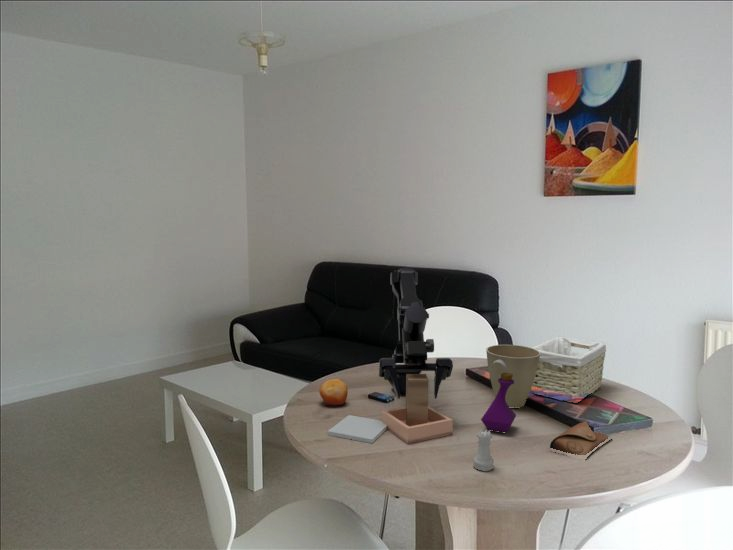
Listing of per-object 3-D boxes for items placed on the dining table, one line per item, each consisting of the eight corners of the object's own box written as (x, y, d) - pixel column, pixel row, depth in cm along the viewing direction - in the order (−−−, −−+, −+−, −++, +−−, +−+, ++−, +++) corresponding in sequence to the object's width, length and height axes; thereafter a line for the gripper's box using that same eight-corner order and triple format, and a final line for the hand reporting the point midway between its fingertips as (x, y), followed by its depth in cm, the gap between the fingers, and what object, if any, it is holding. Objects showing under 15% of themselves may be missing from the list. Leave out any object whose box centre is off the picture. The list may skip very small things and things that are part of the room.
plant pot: (480, 409, 153) (481, 354, 152) (489, 393, 167) (490, 342, 165) (535, 417, 148) (538, 359, 146) (540, 400, 161) (542, 347, 160)
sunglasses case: (586, 462, 120) (572, 433, 122) (558, 469, 125) (545, 441, 127) (614, 438, 134) (601, 412, 135) (589, 445, 138) (576, 420, 140)
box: (423, 417, 147) (424, 403, 147) (452, 434, 136) (452, 419, 135) (381, 425, 141) (381, 411, 141) (407, 444, 130) (407, 428, 129)
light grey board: (348, 418, 146) (348, 415, 146) (390, 425, 141) (390, 422, 141) (327, 434, 135) (327, 431, 135) (372, 443, 130) (372, 439, 130)
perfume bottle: (516, 426, 141) (518, 358, 139) (510, 437, 134) (513, 366, 132) (487, 422, 144) (489, 355, 142) (480, 432, 137) (482, 362, 135)
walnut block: (405, 423, 141) (406, 374, 139) (424, 423, 141) (425, 374, 139) (407, 430, 136) (408, 379, 134) (427, 430, 136) (428, 379, 134)
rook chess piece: (470, 463, 120) (471, 428, 119) (490, 462, 120) (491, 427, 120) (476, 472, 116) (477, 436, 115) (496, 471, 116) (498, 435, 115)
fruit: (350, 392, 163) (348, 374, 158) (347, 414, 156) (345, 395, 151) (323, 391, 163) (321, 373, 158) (319, 413, 157) (316, 394, 152)
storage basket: (578, 407, 156) (581, 357, 154) (524, 395, 166) (526, 347, 165) (605, 388, 174) (608, 342, 172) (555, 378, 184) (558, 335, 183)
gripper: (379, 327, 139) (381, 382, 130) (452, 327, 140) (459, 382, 130) (378, 349, 148) (379, 403, 138) (446, 350, 148) (453, 403, 139)
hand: (417, 397), depth 136 cm, fingers open, 9 cm apart
